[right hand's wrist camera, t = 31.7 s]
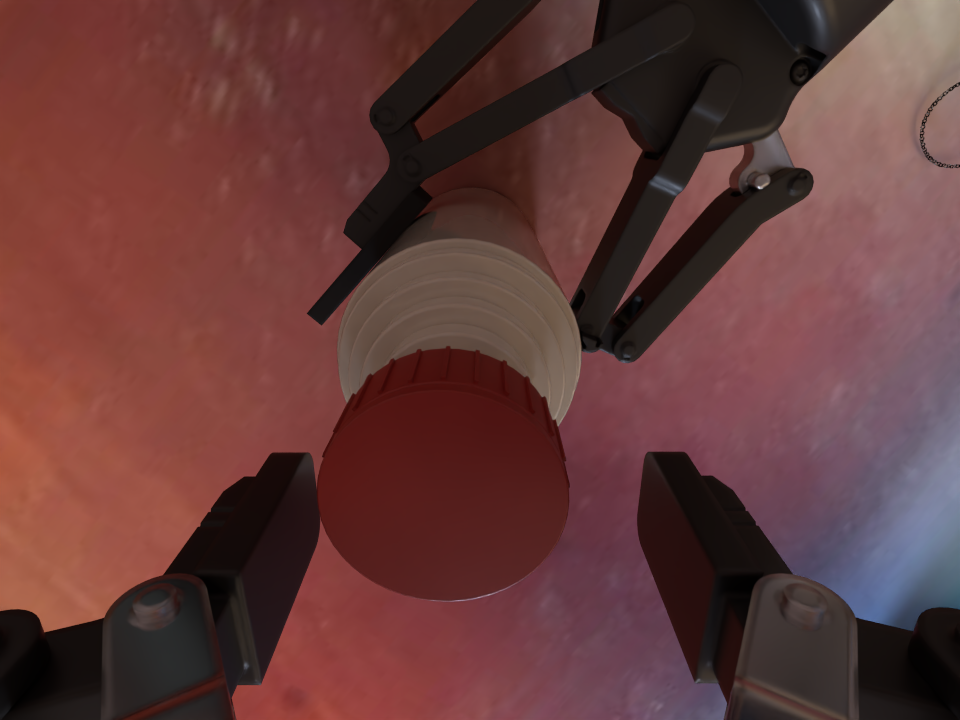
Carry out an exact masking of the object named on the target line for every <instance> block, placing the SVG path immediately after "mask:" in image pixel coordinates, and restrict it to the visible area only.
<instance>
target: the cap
mask: <svg viewBox="0 0 960 720" xmlns="http://www.w3.org/2000/svg"><path fill="white" fill-rule="evenodd" d="M333 432H334V433H333V435H332V437H331V439H330V441H329V443H328V445H327V447H326V449H325V451H324V453H323V456H322V457H324V459H323V461H322V463H321V467H320V471H319V475H318V482H317V502H318V509H319V513H320V517H321V521H322V523H323V526H324V528H325V531H326V533H327V535H328V537H329V539H330V540H331V542H332V544H333V545H334V547H335V548H336V549H337V551H338V552H339V553H340V555H341V556H342V557H343V558H344V559H345V560H346V561H347V562H348V563H349V564H350V565H351V566H352V567H353V568H354V569H356V570H357V571H358V572H359V573H361V574H362V575H363V576H365V577H366V578H368V579H369V580H371V581H373V582H374V583H376V584H378V585H380V586H382V587H384V588H386V589H388V590H390V591H393V592H396V593H399V594H402V595H405V596H409V597H413V598H417V599H423V600H431V601H464V600H470V599H476V598H481V597H484V596H488V595H491V594H494V593H497V592H499V591H502V590H504V589H507V588H509V587H510V586H512V585H514V584H516V583H518V582H520V581H521V580H523V579H524V578H525V577H527V576H528V575H530V574H531V573H532V572H533V571H534V570H536V569H537V568H538V567H539V566H540V565H541V564H542V563H543V562H544V561H545V559H546V558H547V557H548V556H549V555H550V553H551V552H552V550H553V549H554V547H555V546H556V544H557V542H558V541H559V538H560V536H561V534H562V532H563V529H564V526H565V523H566V519H567V515H568V507H569V487H570V484H569V480H568V476H567V471H566V467H565V463H564V461H566V457H565V453H564V449H563V445H562V441H561V437H560V433H559V429H558V425H557V421H556V419H554V420H553V419H552V416H551V414H550V411H549V407H548V403H547V399H546V397H545V396H544V397H542V396H541V395H540V394H539V392H538V391H537V390H536V388H535V387H534V386H533V385H532V384H531V383H530V378H529V377H528V376H526V377H524V376H523V375H521V374H520V373H519V372H518V371H516V370H515V369H514V368H512V367H510V366H509V365H507V361H505V360H503V361H500V360H497V359H495V358H493V357H490V356H488V355H485V354H481V353H480V350H475V351H469V350H463V349H451V346H446V348H442V349H430V350H425V351H422V350H421V349H417V351H416V352H415V353H412V354H409V355H406V356H403V357H401V358H399V359H397V360H395V359H394V358H392V359H391V360H390V361H389V364H387V365H385V366H384V367H383V368H381V369H380V370H378V371H377V372H375V373H374V374H373V375H372V374H371V373H370V374H369V375H368V376H367V378H366V380H365V382H364V384H363V385H362V387H361V388H360V389H359V390H358V391H357V393H356V394H354V393H353V394H352V395H351V397H350V399H349V401H348V403H347V405H346V407H345V409H344V411H343V413H342V415H341V417H340V418H339V420H338V422H337V424H336V426H335V428H334V430H333Z"/></svg>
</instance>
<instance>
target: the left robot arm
mask: <svg viewBox="0 0 960 720" xmlns="http://www.w3.org/2000/svg"><path fill="white" fill-rule="evenodd" d="M540 1H541V0H477V1H476V2H475V3H474V4H473V5H472V6H471V7H470V8H469V9H468V10H467V11H466V12H465V13H464V14H463V15H462V16H461V17H460V18H459V19H458V20H457V21H456V22H455V23H454V24H453V25H452V26H451V27H450V28H449V29H448V30H447V31H446V32H445V33H444V34H443V35H442V36H441V37H440V38H439V39H438V40H437V41H436V42H435V43H434V44H433V45H432V46H431V47H430V48H429V49H428V50H427V51H426V52H425V53H424V54H423V55H422V56H421V57H420V58H419V59H418V60H417V61H416V62H415V63H414V64H413V65H412V66H411V67H410V68H409V69H408V70H407V71H406V72H405V73H404V74H403V75H402V76H401V77H400V78H399V79H398V80H397V81H396V82H395V83H394V84H393V85H392V86H391V87H390V88H389V89H388V90H387V91H386V92H385V93H384V94H383V95H382V96H381V97H380V98H379V99H378V100H377V101H376V102H375V103H374V104H373V106H372V107H371V109H370V114H369V116H370V122H371V124H372V125H373V127H374V129H376V130H377V131H378V133H379V135H380V137H381V139H382V140H383V142H384V144H385V146H386V148H387V150H388V153H389V157H390V164H389V168H388V171H387V172H386V174H385V175H384V176H383V177H382V179H381V180H380V181H379V182H378V183H377V185H376V186H375V187H374V188H373V189H372V191H371V192H370V193H369V194H368V195H367V197H366V198H365V199H364V200H363V202H362V203H361V204H360V205H359V206H358V207H357V209H356V210H355V211H354V212H353V213H352V215H351V216H350V217H349V218H348V219H347V222H346V225H345V229H344V232H343V233H344V234H345V235H346V236H347V237H348V238H350V239H351V240H352V241H353V242H354V243H355V244H356V245H358V246H359V247H360V248H361V249H362V250H361V251H360V252H359V253H358V254H357V256H356V257H355V258H354V259H353V260H352V261H351V263H350V264H349V265H348V266H347V267H346V268H345V270H344V271H343V272H342V273H341V274H340V275H339V277H338V278H337V279H336V280H335V281H334V282H333V284H332V285H331V286H330V287H329V288H328V289H327V291H326V292H325V293H324V294H323V295H322V296H321V298H320V299H319V300H318V301H317V302H316V303H315V305H314V306H313V307H312V308H311V309H310V310H309V312H308V313H307V314H308V315H309V316H311V317H312V318H313V319H314V320H315V321H317V322H318V323H319V324H320V325H323V323H324V322H325V321H326V320H327V319H328V318H329V317H330V315H331V314H332V313H333V312H334V311H335V310H336V309H337V307H338V306H339V305H340V304H341V303H342V302H343V301H344V300H345V298H346V297H347V296H348V295H349V294H350V293H351V292H352V290H353V289H354V288H355V287H356V286H357V285H358V284H359V282H360V281H361V280H362V279H363V278H364V277H365V276H366V274H367V273H368V272H369V271H370V270H371V269H372V268H373V266H374V265H375V264H376V263H377V262H378V261H379V260H380V258H381V257H382V256H383V255H384V254H385V253H386V252H387V250H388V249H389V248H390V247H391V246H392V245H393V244H394V242H395V241H396V240H397V239H398V238H399V237H400V235H401V234H402V233H403V232H404V231H405V230H406V229H407V228H408V227H409V225H410V224H411V223H412V222H413V221H414V220H415V219H416V217H417V216H418V215H419V214H420V213H421V212H422V211H423V209H424V208H425V207H426V206H427V205H428V203H429V202H430V201H431V200H432V197H431V196H430V195H429V194H428V193H427V192H426V191H425V190H424V189H423V188H421V187H420V185H421V184H422V183H423V181H424V180H425V179H427V178H429V177H431V176H432V175H434V174H436V173H438V172H440V171H442V170H444V169H446V168H447V167H449V166H451V165H453V164H455V163H457V162H459V161H460V160H462V159H464V158H466V157H468V156H470V155H472V154H474V153H475V152H477V151H479V150H481V149H483V148H485V147H487V146H488V145H490V144H492V143H494V142H496V141H498V140H500V139H502V138H503V137H505V136H507V135H509V134H511V133H513V132H515V131H517V130H518V129H520V128H522V127H524V126H526V125H528V124H530V123H531V122H533V121H535V120H537V119H539V118H541V117H543V116H545V115H546V114H548V113H550V112H552V111H554V110H556V109H558V108H559V107H561V106H563V105H565V104H567V103H569V102H571V101H573V100H575V99H577V98H579V97H581V96H582V95H584V94H586V93H588V92H590V91H592V90H593V92H592V95H593V96H594V97H595V98H596V99H597V100H598V101H599V102H600V103H601V105H602V106H603V107H604V108H606V109H607V110H609V111H611V112H612V113H614V114H616V115H617V116H619V117H620V118H622V120H623V122H624V124H625V126H626V128H627V130H628V132H629V134H630V136H631V138H632V139H633V140H634V141H635V142H636V143H637V144H638V145H639V147H640V148H641V149H642V150H643V151H642V153H641V155H640V157H639V159H638V161H637V163H636V165H635V167H634V170H633V176H632V179H631V182H630V184H629V186H628V188H627V190H626V192H625V194H624V196H623V198H622V200H621V202H620V204H619V206H618V208H617V210H616V212H615V214H614V216H613V218H612V220H611V222H610V224H609V226H608V228H607V230H606V232H605V234H604V236H603V238H602V240H601V242H600V244H599V246H598V248H597V250H596V252H595V254H594V256H593V258H592V260H591V262H590V264H589V266H588V268H587V270H586V272H585V274H584V276H583V278H582V280H581V282H580V284H579V286H578V288H577V290H576V292H575V294H574V296H573V298H572V300H571V302H570V306H571V309H572V311H573V313H574V315H575V318H576V321H577V325H578V328H579V332H580V339H581V345H582V351H583V352H587V353H592V352H596V351H598V350H601V351H604V352H606V353H609V354H611V355H614V356H615V357H616V358H617V359H618V360H619V361H621V362H623V363H630V362H634V361H635V360H637V359H638V358H639V357H640V356H641V355H642V354H643V353H644V352H645V351H646V349H647V348H648V347H649V346H650V345H651V344H652V343H653V342H654V341H655V340H656V339H657V337H658V336H659V335H660V334H661V333H662V332H663V331H664V330H665V329H666V328H667V327H668V325H669V324H670V323H671V322H672V321H673V320H674V319H675V318H676V317H677V316H678V315H679V313H680V312H681V311H682V310H683V309H684V308H685V307H686V306H687V305H688V304H689V303H690V301H691V300H692V299H693V298H694V297H695V296H696V295H697V294H698V293H699V292H700V290H701V289H702V288H703V287H704V286H705V285H706V284H707V283H708V282H709V281H710V280H711V278H712V277H713V276H714V275H715V274H716V273H717V272H718V271H719V270H720V269H721V268H722V266H723V265H724V264H725V263H726V262H727V261H728V260H729V259H730V258H731V257H732V256H733V254H734V253H735V252H736V251H737V250H738V249H739V248H740V247H741V246H742V245H743V244H744V242H745V241H746V240H747V239H748V238H749V237H750V236H751V235H752V234H753V233H754V232H755V230H756V229H757V228H758V227H759V226H760V225H761V224H762V223H764V222H766V221H767V220H769V219H771V218H772V217H774V216H776V215H777V214H779V213H781V212H782V211H784V210H786V209H787V208H789V207H791V206H792V205H794V204H796V203H798V202H799V201H801V200H803V199H804V198H805V197H806V196H807V195H809V193H810V191H811V190H812V187H813V183H814V181H813V176H812V174H811V173H810V172H809V171H808V170H806V169H803V168H795V167H794V166H793V163H792V161H791V159H790V156H789V154H788V152H787V149H786V147H785V145H784V143H783V140H782V138H781V136H780V133H779V131H778V128H779V127H780V126H781V124H782V123H783V121H784V119H785V117H786V115H787V112H788V110H789V107H790V105H791V103H792V101H793V99H794V98H795V96H796V95H797V93H798V92H799V91H800V89H801V88H802V87H803V86H804V85H805V84H806V83H807V82H808V81H809V80H811V79H812V78H813V77H814V76H815V75H816V74H817V73H818V72H820V71H821V70H822V69H823V68H824V67H825V66H826V65H827V64H828V63H829V62H830V61H831V60H832V59H833V58H834V57H835V56H836V55H837V54H838V53H839V52H840V51H841V50H843V49H844V48H845V47H846V46H847V45H848V44H849V43H850V42H851V41H852V40H853V39H854V38H855V37H856V36H857V35H858V34H859V33H860V32H861V31H862V30H863V29H864V28H865V27H866V26H867V25H868V24H869V23H871V22H872V21H873V20H874V19H875V18H876V17H877V16H878V15H879V14H880V13H881V12H882V11H883V10H884V9H885V8H886V7H887V6H888V5H889V4H890V3H891V2H892V1H893V0H600V2H599V8H598V13H597V19H596V25H595V31H594V36H593V42H592V48H591V49H589V50H587V51H585V52H583V53H582V54H580V55H578V56H576V57H574V58H573V59H571V60H569V61H567V62H566V63H564V64H562V65H561V66H559V67H557V68H555V69H554V70H552V71H550V72H548V73H546V74H544V75H543V76H541V77H539V78H537V79H535V80H533V81H532V82H530V83H528V84H526V85H524V86H523V87H521V88H519V89H517V90H515V91H513V92H512V93H510V94H508V95H506V96H504V97H502V98H501V99H499V100H497V101H495V102H493V103H492V104H490V105H488V106H486V107H484V108H482V109H481V110H479V111H477V112H475V113H473V114H472V115H470V116H468V117H466V118H464V119H462V120H461V121H459V122H457V123H455V124H453V125H451V126H450V127H448V128H446V129H444V130H442V131H441V132H439V133H437V134H435V135H433V136H431V137H430V138H428V139H426V140H424V141H423V140H422V138H421V136H420V134H419V132H418V130H417V128H416V126H415V124H414V123H415V122H416V121H417V120H418V119H419V118H420V117H421V116H422V115H423V114H424V113H425V112H426V111H427V110H428V109H429V108H430V107H431V106H432V105H433V104H434V103H436V102H437V101H438V100H439V99H440V98H441V97H442V96H443V95H444V94H445V93H446V92H447V91H448V90H449V89H450V88H451V87H452V86H453V85H454V84H455V83H456V82H457V81H458V80H460V79H461V78H462V77H463V76H464V75H465V74H466V73H467V72H468V71H469V70H470V69H471V68H472V67H473V66H474V65H475V64H476V63H477V62H478V61H479V60H480V59H481V58H482V57H484V56H485V55H486V54H487V53H488V52H489V51H490V50H491V49H492V48H493V47H494V46H495V45H496V44H497V43H498V42H499V41H500V40H501V39H502V38H503V37H504V36H505V35H506V34H508V33H509V32H510V31H511V30H512V29H513V28H514V27H515V26H516V25H517V24H518V23H519V22H520V21H521V20H522V19H523V18H524V17H525V16H526V15H527V14H528V13H529V12H530V11H531V10H532V9H533V8H534V7H535V6H536V5H537V4H538V3H539V2H540ZM740 145H743V146H744V156H743V159H742V160H741V162H740V163H739V164H738V165H737V166H736V167H735V168H734V169H733V171H732V173H731V174H730V178H729V184H730V187H729V188H728V189H726V190H725V191H724V192H723V193H721V194H720V195H719V196H718V197H717V198H716V199H715V200H714V201H713V202H712V203H711V204H710V205H709V206H708V207H707V208H706V209H705V210H704V211H703V212H702V214H701V215H700V216H699V217H698V218H697V219H696V220H695V222H694V223H693V224H692V225H691V226H690V227H689V229H688V230H687V231H686V232H685V233H684V234H683V235H682V237H681V238H680V239H679V240H678V241H677V242H676V243H675V245H674V246H673V247H672V248H671V249H670V250H669V251H668V253H667V254H666V255H665V256H664V257H663V258H662V260H661V261H660V262H659V263H658V264H657V265H656V266H655V268H654V269H653V270H652V271H651V272H650V273H649V274H648V276H647V277H646V278H645V279H644V280H643V281H642V283H641V284H640V285H639V286H638V287H637V288H636V289H635V291H634V292H633V293H632V294H631V295H630V296H629V297H628V299H627V300H626V301H625V302H624V303H623V304H622V305H621V307H620V308H619V309H618V310H617V311H616V312H615V310H616V308H617V306H618V304H619V302H620V300H621V298H622V297H623V295H624V293H625V291H626V289H627V287H628V285H629V283H630V282H631V280H632V278H633V276H634V274H635V272H636V270H637V268H638V267H639V265H640V263H641V261H642V259H643V257H644V255H645V253H646V252H647V250H648V248H649V246H650V244H651V242H652V240H653V238H654V236H655V235H656V233H657V231H658V229H659V227H660V225H661V223H662V221H663V220H664V218H665V216H666V214H667V212H668V210H669V208H670V206H671V205H672V203H673V201H674V199H675V197H676V196H677V195H678V194H679V193H680V192H682V191H683V189H684V188H685V187H686V185H687V184H688V182H689V180H690V178H691V177H692V175H693V173H694V171H695V169H696V167H697V165H698V164H699V162H700V160H701V158H702V156H703V154H704V153H705V152H710V151H715V150H720V149H725V148H730V147H735V146H740ZM614 312H615V314H614V315H613V313H614ZM612 315H613V316H612Z"/></svg>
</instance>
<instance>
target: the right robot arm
mask: <svg viewBox="0 0 960 720" xmlns="http://www.w3.org/2000/svg"><path fill="white" fill-rule="evenodd" d="M637 526H638V535H639V540H640V544H641V547H642V549H643V552H644V554H645V557H646V559H647V562H648V564H649V567H650V570H651V572H652V575H653V577H654V580H655V582H656V585H657V587H658V590H659V592H660V595H661V598H662V600H663V603H664V605H665V608H666V610H667V613H668V615H669V618H670V620H671V623H672V626H673V628H674V631H675V633H676V636H677V638H678V641H679V643H680V646H681V648H682V651H683V653H684V656H685V659H686V661H687V664H688V666H689V669H690V671H691V674H692V676H693V679H694V681H695V683H719V685H720V688H721V690H722V692H723V695H724V697H725V699H726V701H727V707H726V711H725V716H724V720H960V610H959V609H953V608H943V607H938V608H931V609H928V610H925V611H924V612H922V613H921V615H920V616H919V618H918V620H917V623H916V626H915V628H914V631H909V630H905V629H901V628H897V627H892V626H888V625H884V624H880V623H875V622H871V621H867V620H863V619H859V618H855V615H854V613H853V611H852V610H851V608H850V607H849V606H848V604H847V603H846V602H845V601H844V600H843V599H842V598H841V597H839V596H838V595H837V594H836V593H834V592H833V591H832V590H830V589H829V588H827V587H825V586H823V585H822V584H820V583H817V582H815V581H813V580H810V579H808V578H805V577H801V576H798V575H793V574H792V572H791V571H790V569H789V568H788V567H787V565H786V564H785V562H784V561H783V560H782V558H781V557H780V555H779V554H778V553H777V551H776V550H775V548H774V547H773V546H772V544H771V543H770V541H769V540H768V539H767V537H766V536H765V534H764V533H763V532H762V530H761V529H760V527H759V526H756V522H755V520H754V519H753V518H752V516H751V515H750V513H749V512H748V511H746V510H745V506H744V505H743V504H742V502H741V501H740V499H739V498H738V497H737V495H736V494H735V492H734V491H733V490H732V489H730V488H729V487H727V486H726V485H725V484H723V483H722V482H720V481H719V480H718V479H716V478H715V477H713V476H701V475H700V473H699V472H698V470H697V469H696V467H695V465H694V464H693V462H692V461H691V459H690V458H689V456H688V455H687V454H686V453H685V452H648V453H647V454H646V456H645V459H644V465H643V473H642V481H641V489H640V497H639V505H638V514H637ZM319 530H320V513H319V509H318V502H317V489H316V481H315V473H314V465H313V459H312V456H311V454H310V453H271V454H270V455H269V457H268V458H267V460H266V461H265V463H264V464H263V466H262V467H261V469H260V470H259V472H258V473H257V475H256V477H243V478H242V479H240V480H239V481H237V482H236V483H235V484H233V485H232V486H230V487H229V488H228V489H226V490H225V491H223V493H222V494H221V496H220V497H219V498H218V500H217V501H216V502H215V504H214V505H213V507H212V508H211V512H208V514H207V515H206V516H205V518H204V519H203V521H202V522H201V526H200V527H197V529H196V530H195V532H194V533H193V534H192V536H191V537H190V539H189V540H188V541H187V543H186V544H185V545H184V547H183V548H182V550H181V551H180V552H179V554H178V555H177V557H176V558H175V559H174V561H173V562H172V563H171V565H170V566H169V568H168V569H167V570H166V572H165V573H164V575H162V576H159V577H155V578H152V579H150V580H147V581H145V582H143V583H140V584H138V585H137V586H135V587H133V588H131V589H130V590H128V591H127V592H126V593H124V594H123V595H122V596H121V597H119V598H118V599H117V600H116V601H115V602H114V603H113V604H112V606H111V607H110V608H109V610H108V611H107V613H106V615H105V618H102V619H99V620H95V621H91V622H87V623H83V624H79V625H74V626H70V627H66V628H62V629H57V630H53V631H49V632H45V633H44V630H43V628H42V625H41V622H40V620H39V618H38V617H37V615H35V614H34V613H32V612H30V611H27V610H20V609H15V610H4V611H0V720H236V716H235V711H234V707H233V702H232V696H233V693H234V691H235V689H236V687H237V685H261V683H262V681H263V678H264V676H265V673H266V671H267V668H268V666H269V663H270V661H271V658H272V656H273V653H274V651H275V648H276V646H277V643H278V641H279V638H280V636H281V633H282V631H283V628H284V626H285V623H286V621H287V618H288V616H289V613H290V611H291V608H292V606H293V603H294V601H295V598H296V596H297V593H298V591H299V588H300V586H301V583H302V581H303V578H304V576H305V573H306V571H307V568H308V566H309V563H310V561H311V558H312V556H313V553H314V551H315V548H316V545H317V542H318V537H319Z"/></svg>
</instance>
